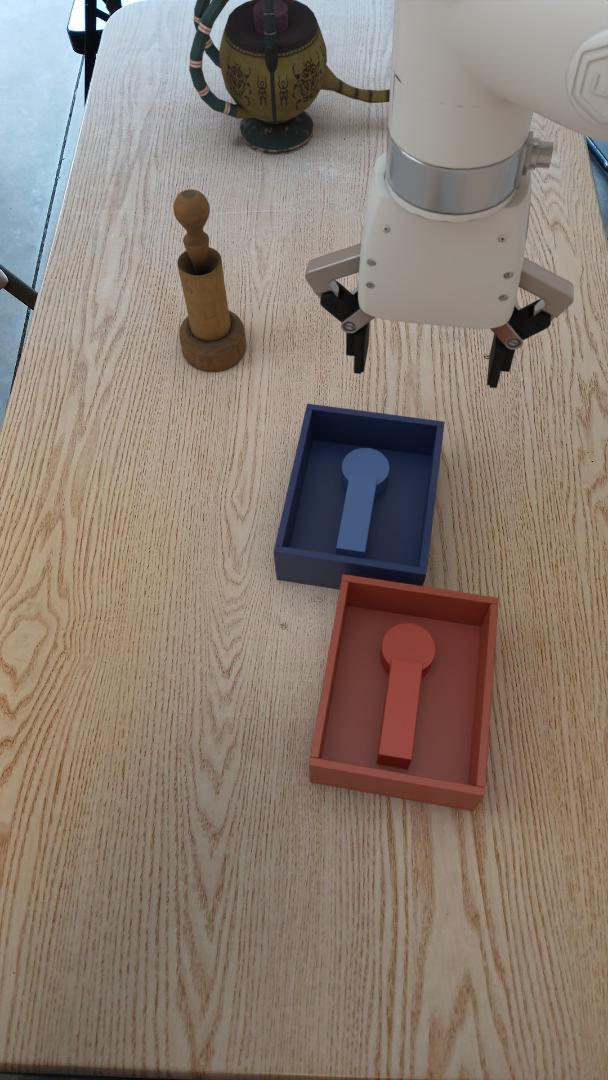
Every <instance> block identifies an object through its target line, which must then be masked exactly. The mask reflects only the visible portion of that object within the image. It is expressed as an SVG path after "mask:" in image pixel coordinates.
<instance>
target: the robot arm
mask: <svg viewBox="0 0 608 1080" xmlns="http://www.w3.org/2000/svg"><path fill="white" fill-rule="evenodd" d="M393 5H394V6H393V26H392V43H391V62H390V63H391V65H390V80H389V81H390V83H389V89H390V99H389V102H388V120H387V132H386V133H387V135H386V150H385V151H384V152H383V153H382V154H380V155H379V156H378V158H377V159H376V160H375V163H374V166H373V170H372V174H371V178H370V181H369V186H368V191H367V196H366V203H365V210H364V217H363V225H362V235H361V242H360V243H357V244H354V245H350V246H348V247H345V248H342V249H339V250H335V251H333V252H329V253H327V254H324V255H321V256H318V257H315V258H312V259H310V260H308V262H307V265H306V270H305V274H304V279H305V280H306V282H307V284H308V285H309V287H310V288H311V289H312V291H313V293H314V294H315V296H317V297H318V298H319V304H320V306H321V307H322V308H323V309H325V311H326V312H328V313H329V314H330V315H332V316H333V317H334V318H335V319H336V320H338V322H340V329H341V330H342V332H344V333H345V355H346V356H347V357H348V356H349V357H354V358H353V373H354V374H358V375H361V374H362V373H365V368H366V362H367V358H368V351H369V346H370V329H371V327H370V326H371V322H372V321H373V320H374V319H379V320H384V321H385V320H386V321H392V322H401V323H409V324H421V325H429V326H441V327H449V328H450V327H452V328H461V329H463V328H464V329H476V330H491V332H492V333H493V337H492V341H491V346H490V350H489V356H488V364H487V365H488V366H487V367H488V368H487V377H486V378H487V379H486V386H489V388H491V389H497V388H498V384H499V381H500V377H501V372H506V373H510V371H511V368H512V363H513V360H514V356H515V353H516V350H518V349H521V347H522V346H523V344H524V341H525V340H527V339H529V338H531V337H533V336H535V335H536V334H539V333H541V332H542V331H543V332H544V331H545V330H547V329H548V328H549V327H551V324H552V321H553V320H554V319H557V318H558V317H559V316H560V315H561V314H563V313H564V312H565V311H566V310H567V309H568V308H569V307H570V306H571V305H572V304H573V303H574V298H575V297H574V296H575V286H574V284H573V283H572V282H571V281H569V280H567V279H566V278H564V277H562V276H560V275H558V274H556V273H554V272H552V271H551V270H549V269H547V268H545V267H543V266H541V265H540V264H538V263H537V262H534V261H532V260H530V259H528V258H526V257H525V254H526V247H527V239H528V231H529V223H530V213H531V212H530V211H531V205H532V172H531V171H536V169H546V170H547V169H550V166H551V162H552V158H553V152H554V141H544V140H541V138H540V137H534V131H532V130H530V129H531V125H532V119H533V115H534V113H535V114H537V115H538V116H541V117H542V118H544V119H546V120H549V121H551V122H552V123H555V124H557V125H559V126H561V127H563V128H565V129H567V130H570V131H572V132H574V133H576V134H578V135H581V136H584V137H587V138H590V139H594V140H596V141H601V142H606V143H608V0H394V4H393ZM354 274H358V280H357V281H358V283H357V287H355V288H354V289H353V290H352V291H350V290H349V289H348V288H346V287H345V286H344V285H342V284H341V282H339V281H338V279H342V278H345V277H348V276H352V275H354ZM519 288H520V289H522V290H524V291H525V292H528V293H530V294H532V295H534V296H536V297H537V298H539V299H537V300H534V301H533V302H531V303H529V304H527V305H525V306H523V307H521V306H520V305H519V304H518V302H517V296H518V292H519Z"/></svg>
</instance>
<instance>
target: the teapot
mask: <svg viewBox="0 0 608 1080" xmlns="http://www.w3.org/2000/svg"><path fill="white" fill-rule="evenodd" d="M228 2H230V0H196V2H195V5H194V9H193V24H194V28H195V34H194V37H193V41H192V45H191V47H190V48H191V49H190V51H189V66H188V68H189V69H188V71H189V74H190V78H191V81H192V82H191V83H192V84H193V87H194V89H195V91H196V92H197V94H198V95H199V97H200V99H201V100H202V101H203V103H205V104H206V105H207V106H208V107H209V108H210V109H211V110H212V111H214V112H217V113H220V114H223V115H226V116H230V117H233V118H234V119H236V120H239V119H240V120H241V121H240V122H239V123H240V124H239V127H238V132H239V137H240V140H241V141H242V142H243V143H244V145H245V146H246V147H247V148H249V149H251V150H252V151H254V152H258V153H261V154H263V155H274V156H275V155H276V156H277V155H278V156H279V155H285V154H290V153H294V152H296V151H299V150H300V149H302V148H304V147H305V146H307V145H308V144H309V143H310V141H311V140H312V139H313V137H314V133H315V123H314V120H313V118H312V116H310V115H309V113H308V112H306V110H307V109H309V108H310V107H311V105H312V104H313V103H314V102H315V100H316V99H317V97H318V95H319V93H320V91H322V90H323V91H329V92H330V91H331V92H334V93H336V94H339V95H342V96H343V97H347V98H349V99H352V100H356V101H361V102H363V103H367V104H380V103H381V104H382V103H389V99H390V88H389V89H380V90H379V89H364V88H358V87H356V86H353V85H350V84H348V83H346V82H345V81H343V80H342V79H340V78H339V77H337V76H336V75H335V73H334V72H333V71H332V70H331V68H330V67H329V66H328V65H327V64H328V53H327V46H326V43H325V39H324V36H323V33H322V30H321V27H320V24H319V22H318V19H317V17H316V15H315V13H314V11H313V10H312V9H311V8H310V7H309V6H308V5H306V4H304V3H302V2H300V1H299V0H248V1H245V2H243V3H242V4H239V5H238V6H236V7H235V8H234V9H233V10H232V11H231V12H230V13H229V14H228V17H227V20H226V23H225V26H224V29H223V31H222V36H221V40H220V44H219V49H218V47H217V46H216V45H215V43H214V41H213V39H212V37H211V36H210V34H211V32H212V30H213V27H214V24H215V22H216V20H218V17H219V16H220V14H221V13H222V12H223V10H224V9H225V7H226V5H227V4H228ZM204 52H205V55H206V56H207V57H208V58H209V59H210V60H211V61H212V63H213V64H214V66H217V68H219V69H220V72H221V75H222V76H221V77H222V80H223V83H224V87H225V90H226V91H227V94H229V96H230V97H231V99H232V100H233V101H234V103H235V104H234V103H232V102H229V101H226V100H223V99H222V98H221V99H220V98H219V97H217V96H216V94H215V93H213V92H212V90H211V88H210V87H209V85H208V83H207V81H206V79H205V75H204V71H203V61H204V59H203V58H204Z"/></svg>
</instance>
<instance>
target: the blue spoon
mask: <svg viewBox="0 0 608 1080" xmlns="http://www.w3.org/2000/svg"><path fill="white" fill-rule="evenodd" d="M388 477H389V463H388V460H387V459H386V457H385V456H384V455H383V454H382V453H381V452H379V451H377V450H375V449H371V448H359V449H356V450H353V451H351V452H350V453H349V454H348V455H347V456H346V457H345V458H344V460H343V463H342V474H341V481H342V485H343V487H344V489H345V490H346V491H347V492H346V498H345V503H344V508H343V514H342V519H341V525H340V530H339V535H338V541H337V546H336V555H342V556H349V557H356V558H362V559H365V556H366V550H367V544H368V538H369V532H370V526H371V520H372V514H373V508H374V501H375V497H377V496H379V495H380V494H381V493H382V492H383V491H384V490H385V489H386V487H387V484H388Z"/></svg>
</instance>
